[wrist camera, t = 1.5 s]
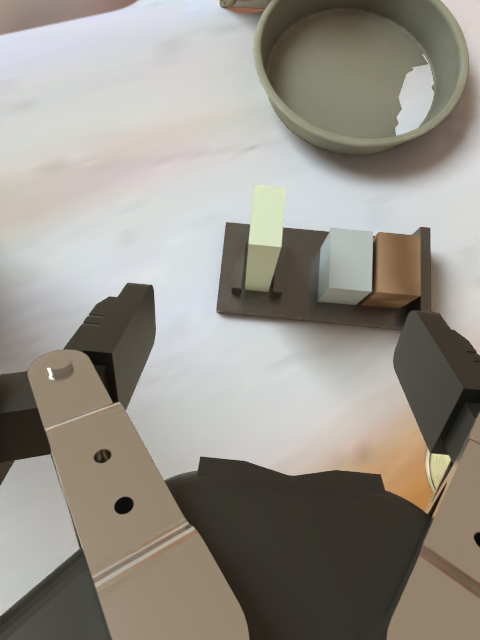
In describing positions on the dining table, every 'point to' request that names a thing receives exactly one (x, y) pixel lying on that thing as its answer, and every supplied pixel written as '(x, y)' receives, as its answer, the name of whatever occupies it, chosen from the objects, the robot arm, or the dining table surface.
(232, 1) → the coffee box
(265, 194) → the pale green block
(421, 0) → the cake pan
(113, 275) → the dining table surface
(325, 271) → the offcut
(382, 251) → the offcut
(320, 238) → the rack
